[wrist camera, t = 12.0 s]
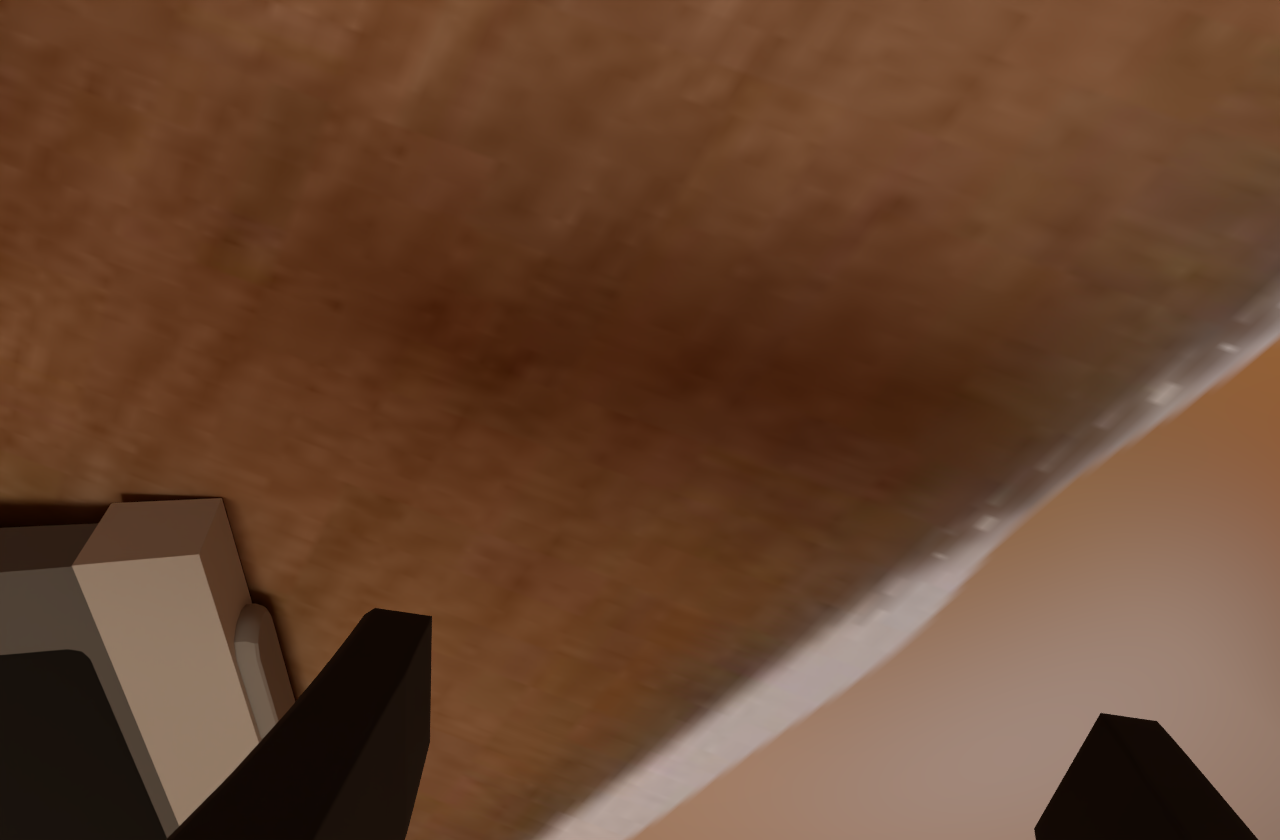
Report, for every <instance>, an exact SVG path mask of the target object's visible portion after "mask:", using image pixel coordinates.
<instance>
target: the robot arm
mask: <svg viewBox="0 0 1280 840" xmlns="http://www.w3.org/2000/svg"><path fill="white" fill-rule="evenodd" d="M431 636H432V616H426V615H419V614H412V613H406V612H399V611H392V610H385V609H378V608H375V609H373V610H371V611H370V612H368V613H366V614H365V615H364V616H363V617H362V619H361V620H360V622H359V623H358V624H357V626H356V627H355V628H354V630H353V631H352V632H351V634H350V635H349V636H348V638H347V639H346V640H345V642H344V643H343V644H342V645H341V647H340V648H339V649H338V651H337V652H336V653H335V655H334V656H333V657H332V658H331V660H330V661H329V662H328V663H327V665H326V666H325V667H324V668H323V669H322V671H321V672H320V673H319V674H318V676H317V677H316V678H315V679H314V680H313V682H312V683H311V684H310V685H309V686H308V688H307V689H306V690H305V691H304V692H303V694H302V695H301V696H300V697H299V698H298V699H297V701H296V702H295V703H294V704H293V705H292V707H291V708H290V709H289V710H288V711H287V712H286V713H285V715H284V716H283V717H282V718H281V719H280V720H279V721H278V722H277V723H276V725H275V726H274V727H273V728H272V729H271V730H270V731H269V732H268V733H267V735H266V736H265V737H264V738H263V739H262V740H261V741H260V742H259V743H258V745H257V746H256V747H255V748H254V749H253V750H252V751H251V752H250V753H249V755H248V756H247V757H246V758H245V759H244V760H243V761H242V762H241V763H240V765H239V766H238V767H237V768H236V769H235V770H234V771H233V772H232V773H231V774H230V775H229V776H228V777H227V778H226V779H225V781H224V782H223V783H222V784H221V785H220V786H219V787H218V788H217V789H216V790H215V791H214V792H213V793H212V794H211V795H210V796H209V797H208V798H207V799H206V800H205V801H204V802H203V803H202V804H201V805H200V806H199V807H198V808H197V809H196V810H195V811H194V812H193V813H192V814H191V815H190V816H189V817H188V818H187V819H186V820H185V821H184V822H183V823H182V824H181V825H180V826H179V827H178V828H177V829H176V830H175V831H174V832H173V833H172V834H171V835H170V836H169V837H168V838H167V839H166V840H405V837H406V834H407V830H408V826H409V822H410V819H411V815H412V811H413V807H414V803H415V799H416V795H417V792H418V787H419V783H420V779H421V775H422V771H423V767H424V763H425V759H426V755H427V751H428V747H429V743H430V699H431ZM1034 830H1035V836H1036V840H1258V839H1257V838H1256V837H1255V835H1254V834H1253V833H1252V832H1251V831H1250V829H1249V828H1248V827H1247V826H1246V825H1245V823H1244V822H1243V821H1242V820H1241V819H1240V818H1239V816H1238V815H1237V814H1236V813H1235V812H1234V810H1233V809H1232V808H1231V807H1230V806H1229V804H1228V803H1227V802H1226V801H1225V800H1224V799H1223V797H1222V796H1221V795H1220V794H1219V793H1218V791H1217V790H1216V789H1215V788H1214V787H1213V785H1212V784H1211V783H1210V782H1209V781H1208V779H1207V778H1206V777H1205V776H1204V775H1203V774H1202V772H1201V771H1200V770H1199V769H1198V768H1197V766H1195V764H1194V763H1193V762H1192V761H1191V759H1190V758H1189V757H1188V756H1187V755H1186V754H1185V752H1184V751H1183V750H1182V749H1181V748H1180V747H1179V745H1178V744H1177V743H1176V742H1175V741H1174V740H1173V739H1172V738H1171V736H1170V735H1169V734H1168V733H1167V732H1166V731H1165V730H1164V728H1163V727H1162V726H1161V725H1160V724H1159V723H1158V722H1157V721H1152V720H1145V719H1138V718H1130V717H1124V716H1117V715H1111V714H1103V713H1100V715H1099V717H1098V719H1097V721H1096V722H1095V724H1094V726H1093V727H1092V729H1091V731H1090V733H1089V734H1088V736H1087V738H1086V740H1085V741H1084V743H1083V745H1082V747H1081V748H1080V750H1079V752H1078V753H1077V755H1076V757H1075V759H1074V760H1073V762H1072V764H1071V766H1070V767H1069V769H1068V771H1067V773H1066V775H1065V776H1064V778H1063V779H1062V782H1061V783H1060V785H1059V787H1058V788H1057V790H1056V792H1055V794H1054V795H1053V797H1052V799H1051V800H1050V802H1049V804H1048V806H1047V807H1046V809H1045V811H1044V813H1043V814H1042V816H1041V818H1040V820H1039V821H1038V823H1037V825H1036V827H1035V828H1034Z"/></svg>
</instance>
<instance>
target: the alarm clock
mask: <svg viewBox="0 0 1280 840" xmlns="http://www.w3.org/2000/svg"><path fill="white" fill-rule="evenodd" d="M294 703H295V699H294V695H293V692H292V688H291V685H290V681H289V677H288V674H287V670H286V667H285V663H284V659H283V656H282V652H281V649H280V645H279V641H278V638H277V634H276V631H275V627H274V623H273V620H272V616H271V615H270V613H269V611H268V610H267V609H266V607H264V606H262V605H259V604H252V601H251V597H250V594H249V590H248V587H247V583H246V580H245V576H244V573H243V569H242V566H241V563H240V559H239V556H238V552H237V549H236V545H235V542H234V538H233V535H232V532H231V528H230V525H229V521H228V518H227V514H226V511H225V507H224V504H223V500H222V498H212V499H191V500H169V501H147V502H125V503H111V505H110V506H109V508H108V510H107V511H106V513H105V514H104V516H103V517H102V519H101V521H100V522H99V523H96V524H74V525H52V526H30V527H8V528H0V840H166V839H167V838H168V837H169V836H170V835H171V834H172V833H173V832H174V831H175V830H176V829H177V828H178V827H179V826H180V825H181V824H182V823H183V822H184V821H185V820H186V819H187V818H188V817H189V816H190V815H191V814H192V813H193V812H194V811H195V810H196V809H197V808H198V807H199V806H200V805H201V804H202V803H203V802H204V801H205V800H206V799H207V798H208V797H209V796H210V795H211V794H212V793H213V792H214V791H215V790H216V789H217V788H218V787H219V786H220V785H221V784H222V783H223V782H224V781H225V779H226V778H227V777H228V776H229V775H230V774H231V773H232V772H233V771H234V770H235V769H236V768H237V767H238V766H239V765H240V763H241V762H242V761H243V760H244V759H245V758H246V757H247V756H248V755H249V753H250V752H251V751H252V750H253V749H254V748H255V747H256V746H257V745H258V743H259V742H260V741H261V740H262V739H263V738H264V737H265V736H266V735H267V733H268V732H269V731H270V730H271V729H272V728H273V727H274V726H275V725H276V723H277V722H278V721H279V720H280V719H281V718H282V717H283V716H284V715H285V713H286V712H287V711H288V710H289V709H290V708H291V707H292V705H293V704H294Z"/></svg>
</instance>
